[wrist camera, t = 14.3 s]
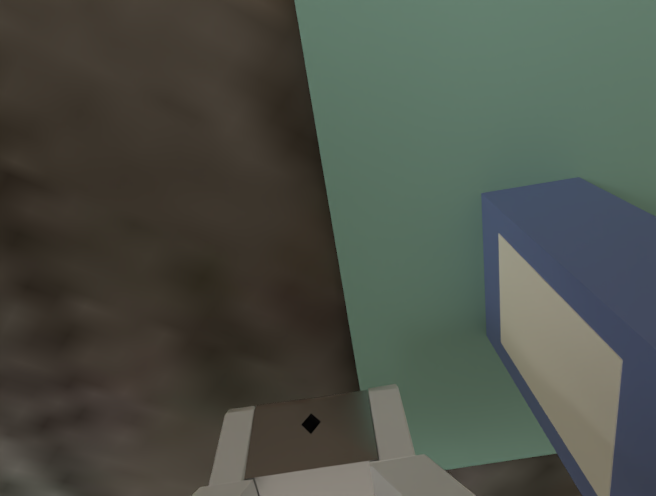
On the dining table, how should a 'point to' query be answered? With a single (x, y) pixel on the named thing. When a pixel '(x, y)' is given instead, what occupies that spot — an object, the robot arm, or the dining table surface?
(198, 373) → the dining table surface
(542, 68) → the mat
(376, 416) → the robot arm
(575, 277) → the block
